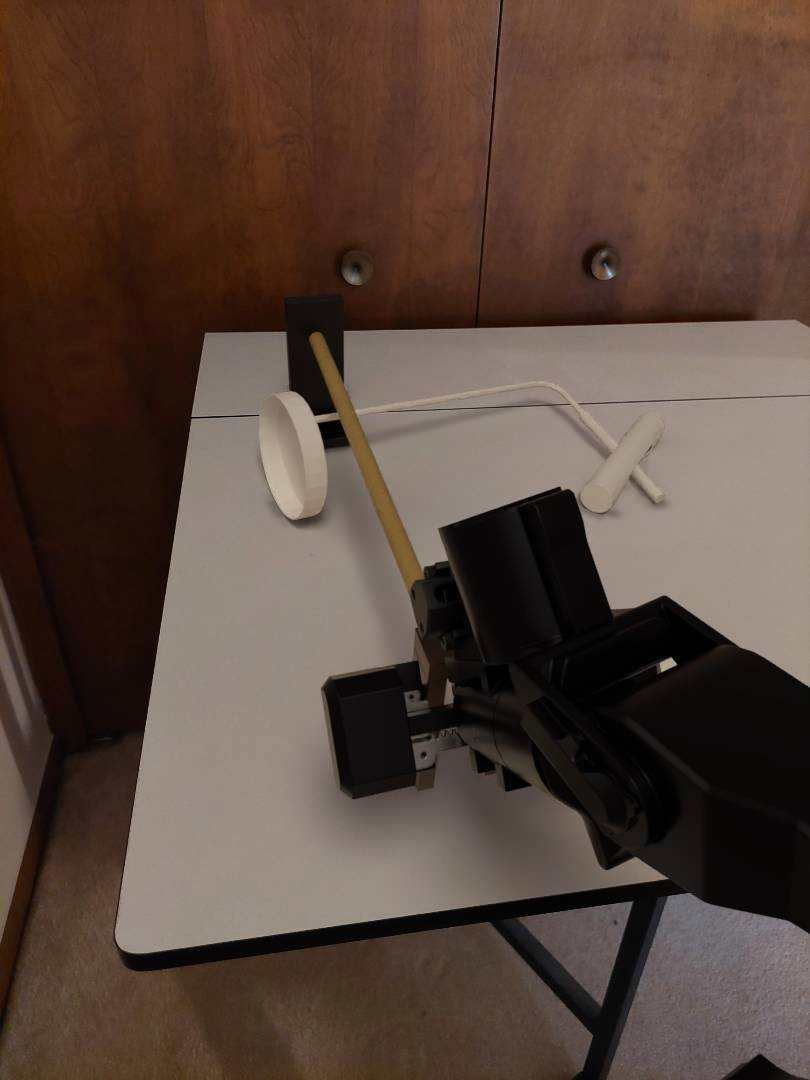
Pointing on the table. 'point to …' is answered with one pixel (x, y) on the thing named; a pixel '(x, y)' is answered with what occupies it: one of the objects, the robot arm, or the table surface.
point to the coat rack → (340, 406)
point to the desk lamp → (298, 442)
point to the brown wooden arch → (432, 690)
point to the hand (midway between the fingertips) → (455, 687)
